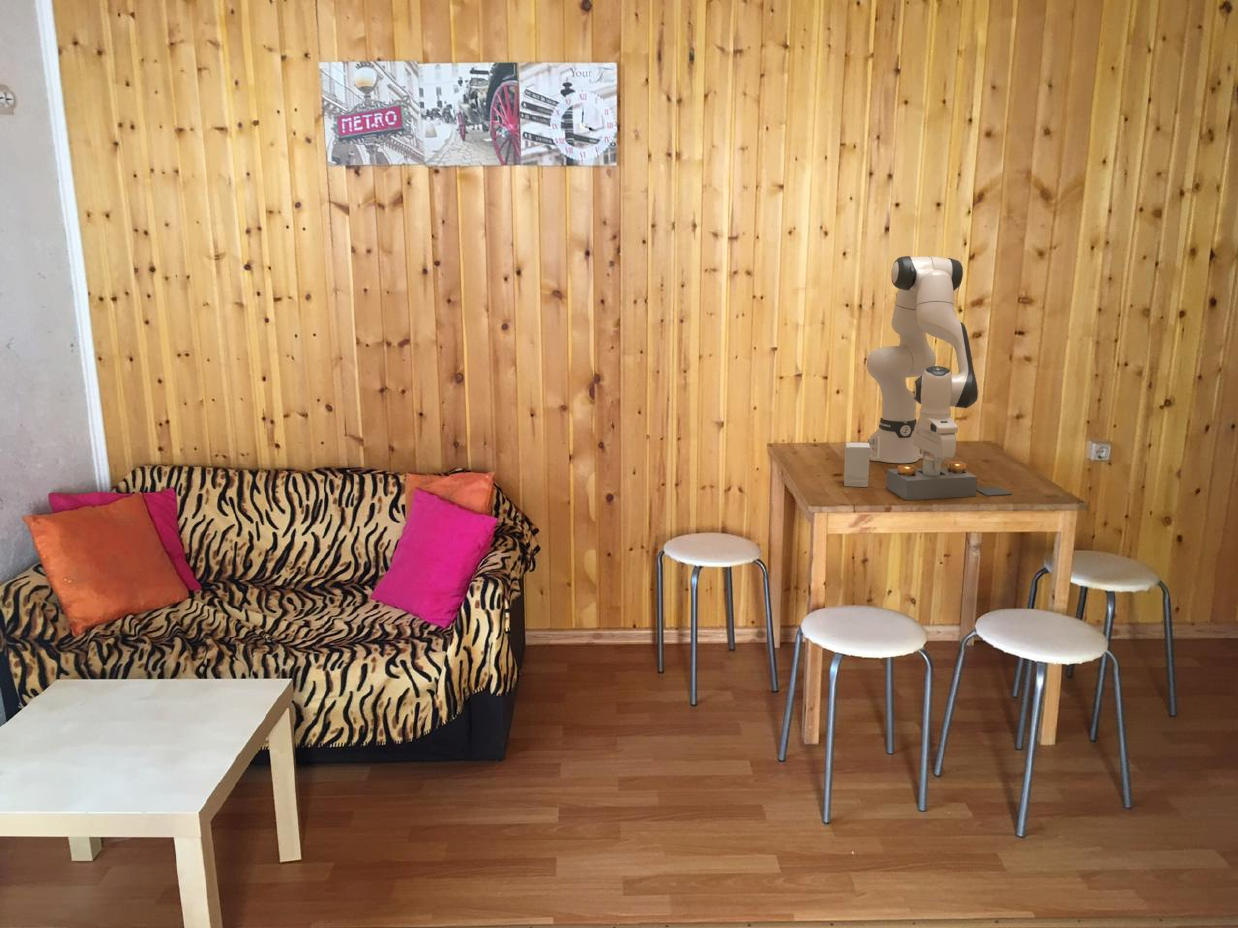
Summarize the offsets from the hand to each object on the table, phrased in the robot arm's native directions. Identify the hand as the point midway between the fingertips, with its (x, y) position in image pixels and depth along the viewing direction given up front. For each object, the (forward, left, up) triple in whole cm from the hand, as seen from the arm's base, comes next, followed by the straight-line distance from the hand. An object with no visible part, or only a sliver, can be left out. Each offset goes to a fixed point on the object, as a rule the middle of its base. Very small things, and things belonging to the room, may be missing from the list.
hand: (931, 467), depth 303 cm
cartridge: (0, 0, -8) cm, 8 cm away
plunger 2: (0, +8, -7) cm, 10 cm away
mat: (+4, +18, -8) cm, 20 cm away
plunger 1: (0, -8, -7) cm, 10 cm away
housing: (0, 0, -8) cm, 8 cm away
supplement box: (-14, -18, -8) cm, 24 cm away
